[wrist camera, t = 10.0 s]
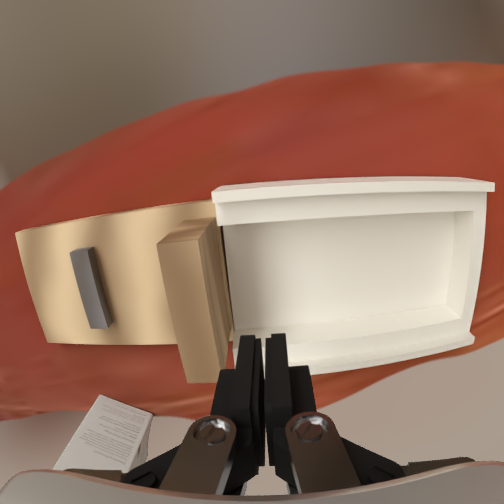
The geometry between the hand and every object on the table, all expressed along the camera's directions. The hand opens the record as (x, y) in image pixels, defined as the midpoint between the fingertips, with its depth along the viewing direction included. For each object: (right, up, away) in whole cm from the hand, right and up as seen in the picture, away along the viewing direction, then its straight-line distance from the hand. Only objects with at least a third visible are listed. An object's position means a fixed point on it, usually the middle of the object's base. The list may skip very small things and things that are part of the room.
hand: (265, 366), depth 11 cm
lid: (-11, +2, +12) cm, 16 cm away
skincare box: (-14, -13, +16) cm, 25 cm away
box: (+7, +4, +11) cm, 13 cm away
